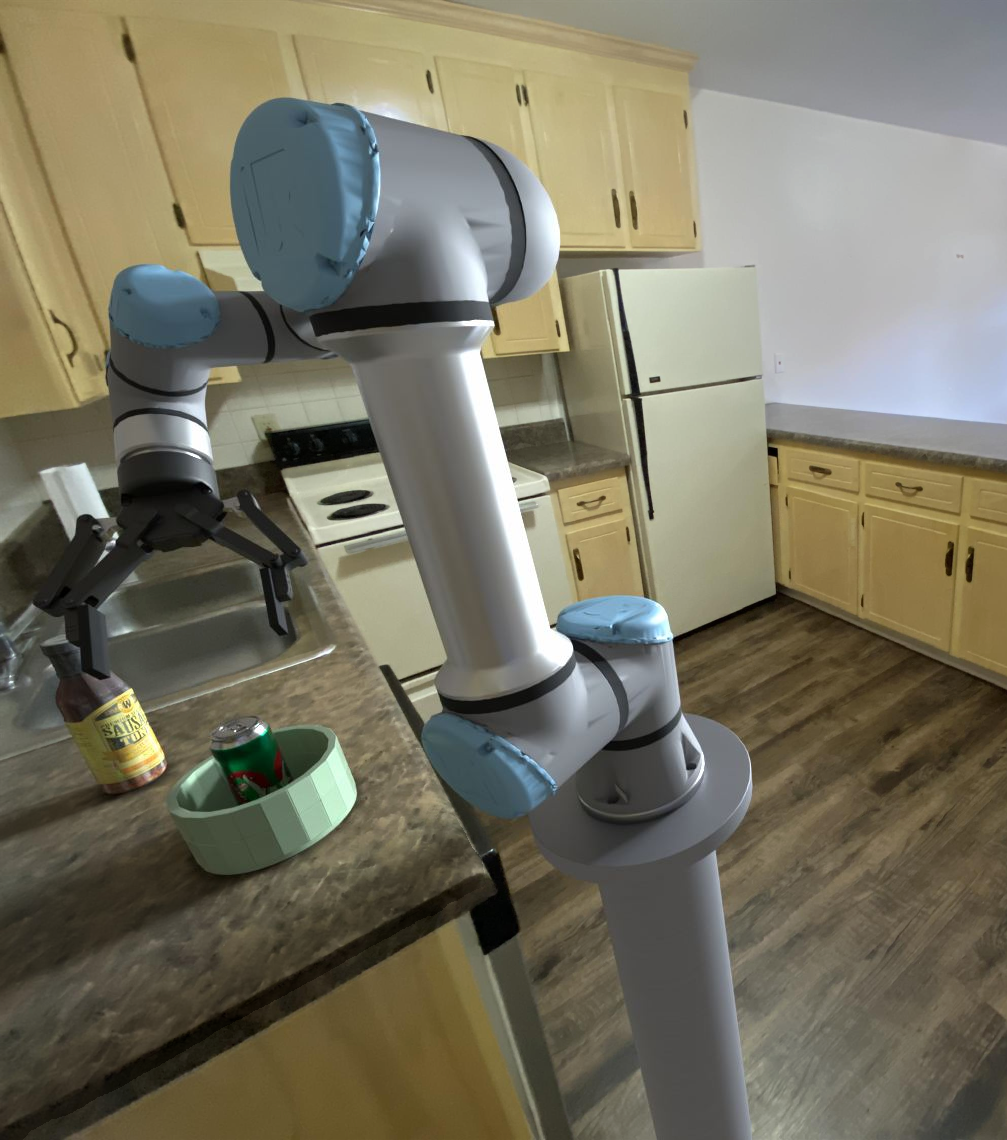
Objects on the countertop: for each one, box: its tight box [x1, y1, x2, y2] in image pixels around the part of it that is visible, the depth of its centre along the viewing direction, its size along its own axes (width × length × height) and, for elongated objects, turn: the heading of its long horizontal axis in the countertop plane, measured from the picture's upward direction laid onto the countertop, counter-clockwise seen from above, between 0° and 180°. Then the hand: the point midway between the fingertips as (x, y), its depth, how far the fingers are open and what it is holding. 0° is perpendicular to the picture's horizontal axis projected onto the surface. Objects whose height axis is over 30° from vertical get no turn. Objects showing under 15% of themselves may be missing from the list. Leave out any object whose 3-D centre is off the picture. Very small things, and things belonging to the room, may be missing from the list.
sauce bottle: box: [39, 633, 168, 795], centre depth 74 cm, size 6×6×20 cm
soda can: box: [208, 714, 294, 806], centre depth 67 cm, size 5×5×12 cm
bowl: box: [165, 724, 358, 876], centre depth 68 cm, size 15×15×8 cm
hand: (192, 651), depth 59 cm, fingers open, 13 cm apart
